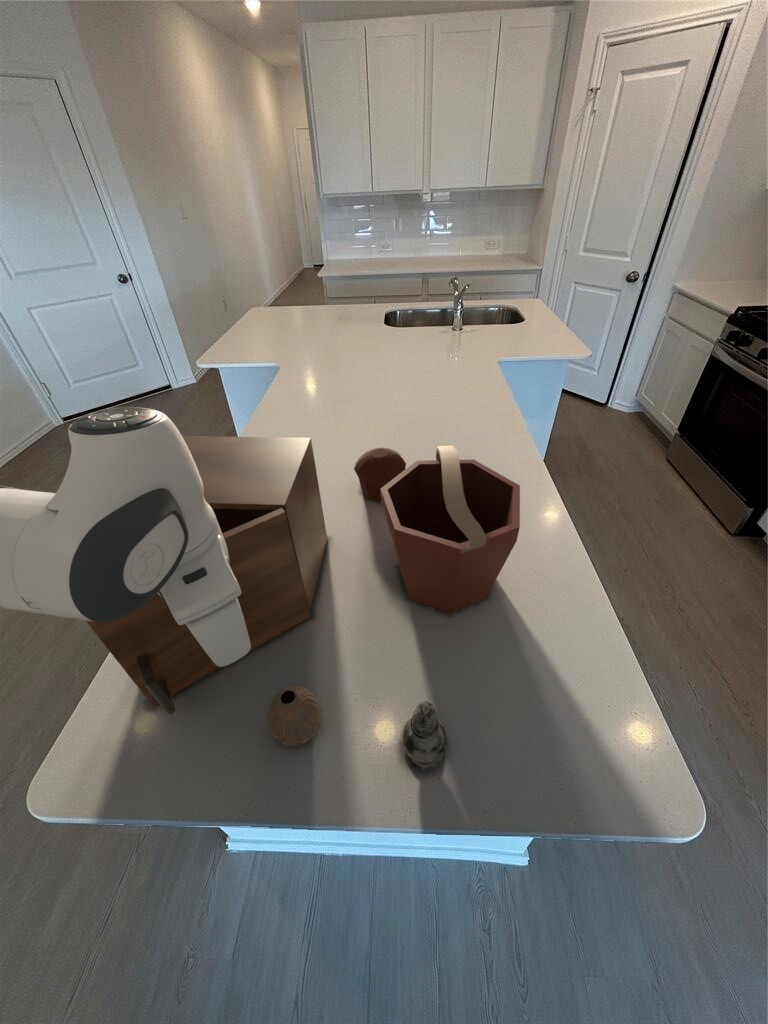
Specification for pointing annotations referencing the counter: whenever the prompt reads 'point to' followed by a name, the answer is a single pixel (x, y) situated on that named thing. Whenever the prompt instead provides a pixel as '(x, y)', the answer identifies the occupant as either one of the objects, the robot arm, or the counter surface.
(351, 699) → the counter surface
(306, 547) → the cupboard
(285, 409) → the counter surface
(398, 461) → the muffin
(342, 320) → the counter surface
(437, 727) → the grey stone turned figure
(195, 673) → the cupboard door
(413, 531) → the bucket
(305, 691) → the vase
